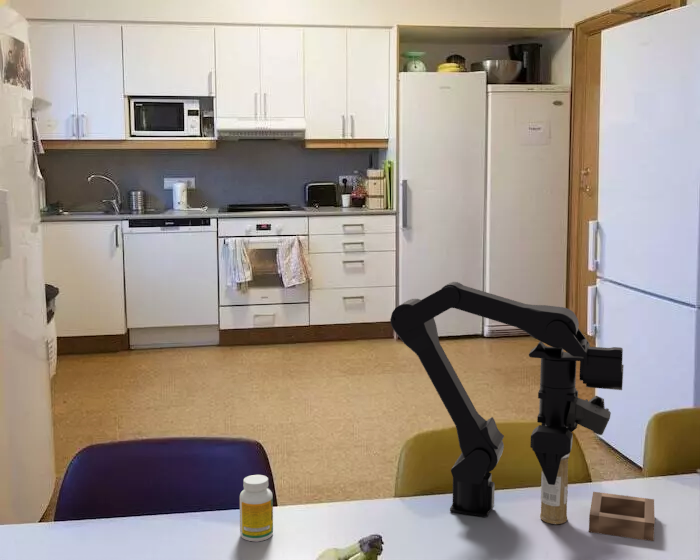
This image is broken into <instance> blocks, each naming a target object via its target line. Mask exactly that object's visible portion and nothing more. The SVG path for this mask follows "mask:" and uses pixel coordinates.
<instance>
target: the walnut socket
mask: <svg viewBox="0 0 700 560" xmlns="http://www.w3.org/2000/svg"><path fill="white" fill-rule="evenodd" d="M589 509H590V510H589V516H588V517H589V518H588V519H589V520H588V533H594V534H601V535H608V536H614V537H615V536H616V537H621V538H628V539H635V540H643V541H648V542H654V541H655V538H654V537H655V522H656V520H655V499H654V498H646V497H640V496H639V497H637V496H631V495H623V494H615V493H605V492H601V491H600V492H598V491H592V497H591V502H590V508H589Z"/></svg>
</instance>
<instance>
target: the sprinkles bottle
mask: <svg viewBox="0 0 700 560" xmlns="http://www.w3.org/2000/svg"><path fill="white" fill-rule="evenodd" d="M570 453H571V452H570ZM570 453H569V454H568V455H565V456H564V457H562V458H561V462H560V466H559V470H558V474H557V479H556V483H555V485H550V484H548V482H547V480H546V477H545V475H544V473H543V470H542V469H541V479H540V480H541V481H540V482H541V484H540V486H541V488H540V503H541V504H540V506H541V507H540V514H539V515H540V516H539V517H540V519H541V520H542V521H543V522H545V523H547V524H552V525H561V524H565V523H566V522H567V521H568V514H567V513H568V512H567V511H568V489H569V488H568V487H569V485H568V484H569V483H568V482H569V477H568V474H569V472H568V471H569V458H570Z"/></svg>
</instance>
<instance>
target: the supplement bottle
mask: <svg viewBox="0 0 700 560" xmlns="http://www.w3.org/2000/svg"><path fill="white" fill-rule="evenodd" d="M242 484H243V486H242V487H243V490H242V491H241V492H240V494H239V534H240V537H241V538H242V539H244V540H245V541H249V542H255V543H256V542H263V541H265V540H268V539H270V538H271V537H272V536H273V534H274V511H273V510H274V507H273V505H274V503H273V501H274V499H273V492H272V490H271V489H270V488H269V484H270V483H269V477H267V476H266V475H263V474H253V475H248V476H245V477H244V478H243V483H242Z"/></svg>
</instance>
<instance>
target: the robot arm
mask: <svg viewBox="0 0 700 560" xmlns="http://www.w3.org/2000/svg"><path fill="white" fill-rule="evenodd" d="M450 309H456V310H459V311H463V312H466V313H469V314H472V315H476V316H478V317H482V318H485V319H488V320H491V321H495V322H499V323H501V324H503V325H504V324H505V325H508V326H511V327H515V328H517V329H519V330H521V331H523V332H524V333H526V334H528V335H529V336H530V337H532V338H534V339H536V340H538V341H539V342H538V343H537V345H536V346H534V347H533V348H532V349H530V352H529V354H528V357H529V358H532V359H534V358H535V359H540V373H539V374H540V376H539V377H540V379H539V381H540V382H539V390H538V392H537V399H539V403H538V404H539V407H538V410H539V411H538V414H537V422H536V423H539V425H538V426H536V427H534V429H533V430H532V432H531V435H530V447H529V448H531V450H532V451H533V452H534V455H535V456H536V458H537V459H536V460H537V461H538V463H539V465H540V468H541V471H542V470H543V473H544V475H545V477H546V480H547V482H548V484H550V485H555V483H556V479H557V474H558V470H559V466H560V462H561V458H562V457H564V456H565V455H568V454H569V453H571V452H572V447H573V439H574V438H573V437H574V436H573V432H574V431H575V430H576V429H577V428H578V425H579V426H581V427H583V428H586V429H587V430H590V431H592V432H593V433H594V434H596V435H598V436H602V435H603V434H604V432H605V430H606V428H607V425H608V424H609V421H610V419H611V414H612V413H611V411H610V409H609V408H607V407H606V406H605V398H603V397H601V396H598V395H595V396H593V397H592V398H591V399H582V398H580V397H579V390H577V387H576V384H577V383H576V380H577V376H576V375H577V362H579V381H580V382H581V381H582V384H584V385H585V388H590V389H591V388H592V389H600V390H601V389H604V390H613V391H615V390H616V391H622V390H623V383H624V382H623V381H624V366H625V365H624V364H623V351H624V350H623V347H618V346H617V347H616V346H615V347H614V346H612V347H600V346H599V347H598V346H590V345H591V344H590V342H589V341H588V339H587V338H586V336H585V335H584V334H583V332H582V331H581V330H580V328H579V327H580V326H579V325H580V323H579V319H578V317H577V315H576V314H575V312H574V311H573V310H571V309H570V308H567V307H564V306H563V307H562V306H556V305H548V304H547V305H546V304H528V303H523V302H520V301H516V300H513V299H510V298H506V297H503V296H499V295H496V294H493V293H490V292H487V291H484V290H480V289H476V288H473V287H470V286H466V285H463V284H462V283H461V282H458V281H452V282H448V283H447V284H446V285H444V286H443V287H441V289H439V290H437V291H435V292H434V293H433V292H432V293H431V294H430V295H427V296H425V297H424V298H422V299H419V298H411V299H408V300H406V301H404V302H403V303H401V304H399V305H398V306H397V307H395V308H394V309H393V310H392V313H391V315H390V319H389V321H390V326H391V328H392V330H393V332H395V334H396V335H397V336H398V338H399V339H400V340H401V342H403V344H404V345H405V346H406V347H407V348H408V349H410V350H411V351H412V352H413V353H415V354H416V356H417V357H418V359H419V361H420V363H421V365H422V367H423V368H424V371H425V372H426V373H427V376H428V378H429V379H430V382H431V383H432V385H433V387H434V388H435V390H436V392H437V394H438V397H439V398H440V400H441V401H442V403H443V405H444V407H445V409H446V411H447V413H448V414H449V415H448V416H450V418H451V420H452V422H453V424H454V426H455V428H456V435H457V439H458V445H459V449H460V452H461V453H460V455H459V456H458V457H457V459H456V460H455V462H454V465H453V466H452V467H451V469H450V472H451V475H452V504H451V506H450V508H449V512H451V513H455V514H464V515H468V516H469V515H470V516H477V517H484V518H485V517H488V515H489V513H490V511H491V510H493V507H494V506H495V488H496V487H495V482H494V481H492V478H493V475H492V471H493V470H494V469H495V468H496V467H497V465H498V463H499V461H500V459H501V456H502V455H503V451H504V448H505V447H504V446H505V445H504V441H503V439H504V438H505V435H504V434H503V432H501V431H500V429H498V426H497V423H496V420H495V419H494V417H493V416H491V417H490V418H488V419H487V420H486V419H485V418H484V417H483V416H481V414H479V412H478V411H477V410H476V407H475V405H474V403H473V402H472V400H471V399H470V396H469V395H468V393H467V391H466V389H465V387H464V386H463V385H464V384H462V381H461V380H460V377H458V375H457V372H456V371H455V369H454V367H453V365H452V363H451V361H450V359H449V358H448V356H447V353H446V352H445V350H444V349H443V346H442V345H441V343H440V339H439V334H438V327H437V323H436V319H435V318H436V317H437V316H440V315H441V314H443V313H445V312H446V311H448V310H450ZM569 455H570V454H569Z"/></svg>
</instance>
